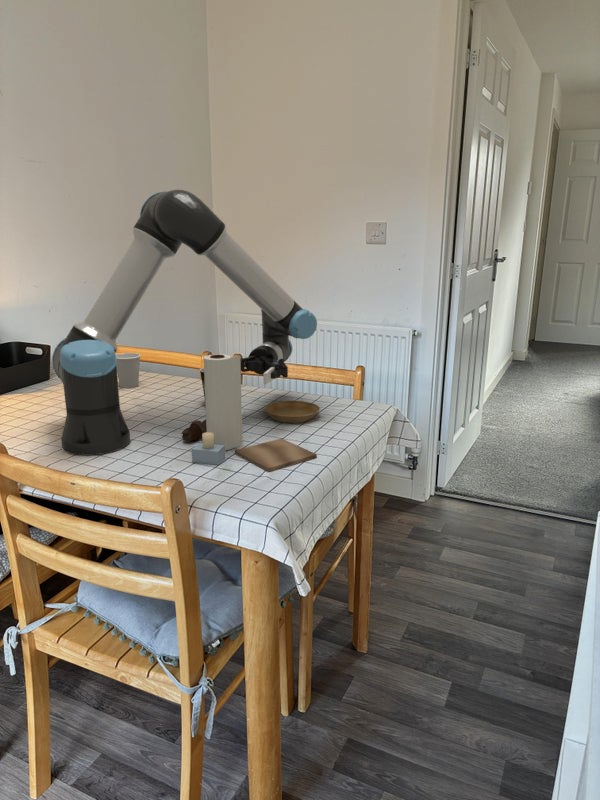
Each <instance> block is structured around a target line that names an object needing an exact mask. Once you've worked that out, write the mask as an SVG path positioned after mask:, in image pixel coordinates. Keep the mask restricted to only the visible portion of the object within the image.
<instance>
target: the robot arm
mask: <svg viewBox="0 0 600 800" xmlns="http://www.w3.org/2000/svg"><path fill="white" fill-rule="evenodd" d="M139 213H140V214H139V218H138V219H137V221H136V223H135V224H134V226H133V228H132V233H133V237H134V239H133V240H132V242H131V244H130V245H129V247H128V249H127V250H126V252H125V254H124V255H123V257H122V258H121V260H120V262H119V263H118V265H117V266H116V268H115V269H114V272H113V273H112V275H111V276H110V278H109V280H108V282H107V283H106V284H105V286H104V288H103V289H102V292H101V293H100V295H99V296H98V298H97V300H96V301H95V302H94V304H93V306H92V308H91V309H90V311H89V312H88V314H87V315H86V317H85V319H84V321H82V322H78V323H74V324H73V326H72V328H71V329H70V330H69V333H68V334H67V336H66V337H65V338H63V339H62V340H61V341H59V343H57V344H56V346H55V348H54V351H53V353H52V359H51V360H52V368H53V370H54V373H55V374H56V376H57V377H58V379H60V381H61V382H62V385H63V386H62V387H63V393H64V402H65V410H66V411H65V412H66V417H65V422H64V426H63V429H62V434H61V437H60V440H61V449H62V448H63V449H62V450H63V451H64V452H66V453H69V454H72V455H77V456H81V455H82V456H92V455H93V456H94V455H95V456H96V455H101V454H107V453H111V452H112V453H113V452H115V451H119V450H121V449H123V448H125V447H127V446H128V445H129V444H130V443H131V433H130V432H131V431H130V429H129V427H128V425H127V422H126V420H125V417H124V415H123V412H122V410H121V405H120V403H121V402H120V392H119V391H120V390H119V379H118V374H117V366H116V364H117V358H116V354H117V351H118V345H117V343H116V341H117V339H118V337H119V335H120V334H121V332H122V331H123V329H124V327H125V325H126V324H127V322H129V320H130V317H131V315H132V314H133V313H134V310H135V309H136V307H137V306H138V304H139V303H140V302H141V299H142V298H143V296H144V295H145V292H146V291H147V289H148V287H150V284H151V283H152V281H153V279H155V276H156V275H157V273H158V271H159V270H160V268H161V266H162V265H163V264H164V262H165V260H166V259H168V258H171V257H175V255H176V254H177V252H178V251H179V249H180V248H181V246H182V244H183V245H185V246H187V247H188V248H190V249H191V250H192V251H193V252H194V253H195V254H197V255H198V256H204V257H206V258H207V259H208V260H209V262H212V264H213V265H214V266H215V267H216V268H217V269H219V270H220V271H221V272H222V274H223V275H225V276H226V277H227V278H228V279H229V280H230V281H231V282H233V284H234V285H235V286H237V288H239V290H241V291H242V292H243V293H244V294H245V295H246V296H247V297H248V298H249V299H250V300H251V301H252V302H254V303H255V305H257V306H258V307H259V308H260V312H261V326H262V328H261V329H262V331H261V332H262V334H261V335H262V344H261V345H259V346H257V347H255V348H254V349H252V350H251V351H250V353H249V355H248V357H240V364H241V372H242V373H247V372H253V373H255V374H257V375H259V376H263V385H265V386H266V385H268V384H269V383H271V382H272V381H273V380H275V379H277V378H278V379H279V378H280V377H281V376H282V377H283V378H288V376H289V371H288V370H289V368H288V365H286V363H285V362H286V361H288V360H289V358H290V356H291V355H292V353H293V345H292V342H291V340H290V338H289V337H291V338H292V337H293V338H294V339H301V340H306V339H309V338H311V337H312V336H313V335H315V332H316V330H317V327H318V320H317V318H316V316H315V315H314V313H313V312H311V311H310V310H308V309H304V308H302V307H301V306H300V305H299V303H298V302H296V300H294V299H293V298H292V297H291V296H290V295H289V294H288V293H287V292H286V290H284V289H283V288H282V287H281V286H280V285H279V284H278V282H277V281H275V280H274V278H272V277H271V276H270V275H269V273H268V272H266V270H265V269H263V267H262V266H261V265H260V264H259V263H258V262H257V261H256V260H254V258H253V257H251V255H250V254H249V253H248V252H247V251H246V250H245V249H244V248H243V247H242V246H241V245H240V244H239V243H238V241H236V240H235V239H234V238H233V237H232V236H231V235H230V234H229V233H228V232H227V226H226V224H225V222H224V221H222V220H221V219H220V218H219V217H218V215H217V214H215V213H214V211H212V210H211V208H210V207H209V206H208V205H207V204H205V203H204V202H203V200H201V199H200V198H199V197H198V196H197V195H195V194H194V193H192V192H190V191H188V190H184V189H173V190H169V191H168V190H166V191H159V192H156V193H154V194H152V195H150V196H149V197H148V198H147V199H146V200H145V201H144V202H143V205H142V206H141V209H140V212H139Z"/></svg>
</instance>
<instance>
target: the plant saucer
mask: <svg viewBox="0 0 600 800" xmlns="http://www.w3.org/2000/svg"><path fill="white" fill-rule="evenodd" d="M320 410H321V407H320V406H319V405H318V404H315V403H313V402H309V401H303V400H284V401H283V400H282V401H281V400H280V401H276V402H272V403H270V404H268V405H266V406H265V407H264V411H265V412H266V413H267V414H268V415H269V416H270V418H272V419H273V420H275V421H278V422H282V423H292V424H294V423H296V422H297V423H303V422H307V421H311V420H312V419H313V418H314V417H316V416H317V414H318V413H319V411H320Z"/></svg>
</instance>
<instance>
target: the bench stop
mask: <svg viewBox="0 0 600 800" xmlns="http://www.w3.org/2000/svg"><path fill="white" fill-rule="evenodd" d="M191 457H192V458H191V459H192V463H199V464H207V465H215V466H219V465H220V464H221V463H222V462H223V461H224V460H225V459H226V450H225V445H217V444H214V433H212V432H205V433H203V434H202V442H199V443H197V444H196V445H195V446H193V448H191Z"/></svg>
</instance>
